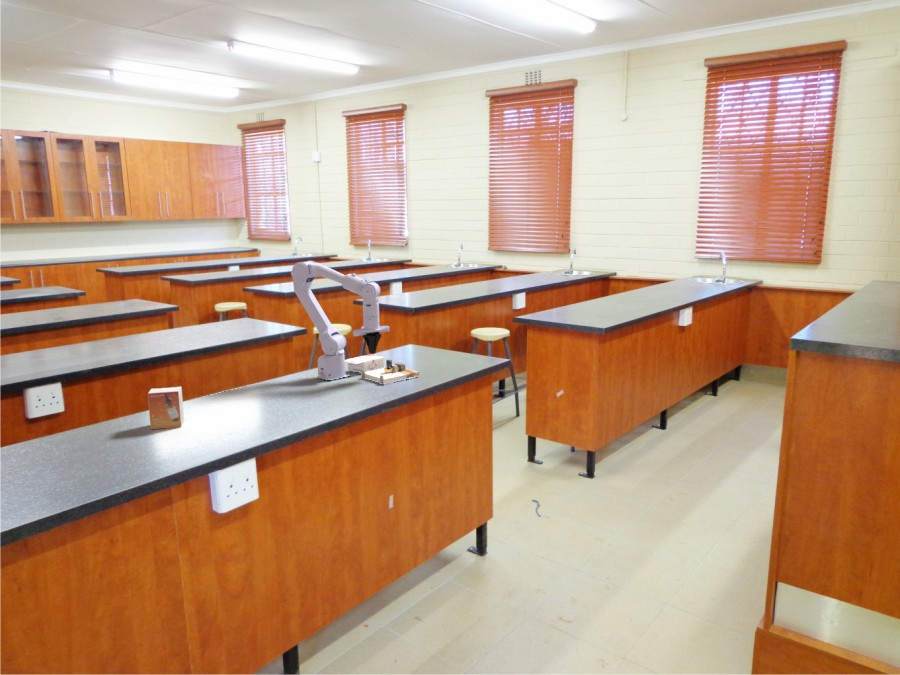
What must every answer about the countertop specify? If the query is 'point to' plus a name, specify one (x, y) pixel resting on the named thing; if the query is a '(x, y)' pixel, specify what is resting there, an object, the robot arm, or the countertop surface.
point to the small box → (166, 407)
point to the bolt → (390, 366)
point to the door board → (383, 375)
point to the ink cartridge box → (365, 363)
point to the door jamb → (407, 370)
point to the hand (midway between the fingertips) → (372, 353)
